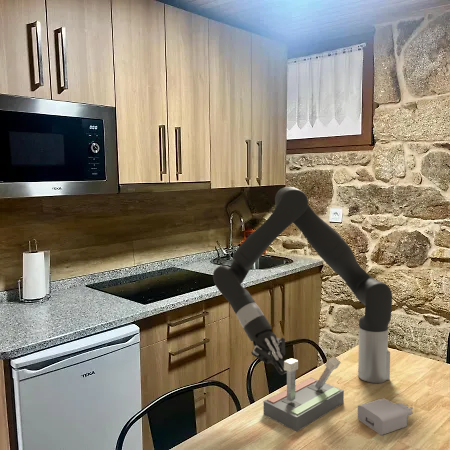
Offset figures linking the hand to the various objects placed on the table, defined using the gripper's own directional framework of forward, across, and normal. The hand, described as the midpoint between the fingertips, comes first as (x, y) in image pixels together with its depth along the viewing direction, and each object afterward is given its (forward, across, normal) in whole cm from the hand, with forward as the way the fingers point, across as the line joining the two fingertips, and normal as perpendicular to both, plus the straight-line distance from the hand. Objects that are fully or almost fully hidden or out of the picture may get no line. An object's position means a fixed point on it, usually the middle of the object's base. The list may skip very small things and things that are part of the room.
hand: (284, 373), depth 125 cm
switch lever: (+7, 0, +4) cm, 8 cm away
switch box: (+10, +6, +7) cm, 14 cm away
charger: (+25, +18, -7) cm, 31 cm away
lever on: (+7, +12, +4) cm, 15 cm away
